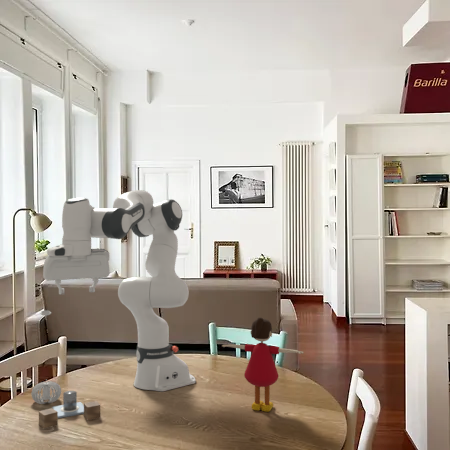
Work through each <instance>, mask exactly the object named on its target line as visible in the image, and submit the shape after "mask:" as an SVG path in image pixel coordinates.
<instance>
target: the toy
mask: <svg viewBox="0 0 450 450" xmlns="http://www.w3.org/2000/svg"><path fill="white" fill-rule="evenodd" d="M272 327H273V326H272V323H271V321H270V320H268V319H265V318H262V317H258V318H257V319H255V320H253V321H252V324H251V329H250V335H251V338H253V339H254V340H255V341H258V343H256V344H251V343H250V344H249V343H245V344H233V343H232V344H231V343H229V344H228V343H227V344H222V345H221V347H223V348H225V347H228V348H234V349H239V350H244V351H245V352H246V353H247V352H249V353H251V355H250V358H249V360H248V363H247V366H246V368H245V371H244V378H245V380H246V381H247V382H248V383H249V384H251V385H253V386H254V401H253V403H252V404H251V409H252V411H253V410H254V411H260V410H261V411H262V412H267V413H268V412H270V411H271V410H272V408H274V403H273V401H270V397H271V395H270V393H271V391H270V390H271V389H270V388H271V387H270V386H272V385H273V384H275V383H276V382H277V381H278V379H279V372H278V369H277V366H276V363H275V361H274V358H273V355H279V354H280V353H282V354H284V353H285V354H287V353H289V354H292V353H293V354H299V355H300V354H304V351H301V350H298V349H290V348H280V346H276V345H274V346H273V345H270V346H269V345H268V344H267V343H265V342H266V341H268V340H270V339H271V338H272V337H273V331H272V330H273V329H272ZM261 388H264V401H263V400H261Z"/></svg>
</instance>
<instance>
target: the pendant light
mask: <svg viewBox="0 0 450 450" xmlns="http://www.w3.org/2000/svg"><path fill="white" fill-rule="evenodd" d="M39 314H40V315H42V316H45V317H47V316H49V315H51V314H52V312H51V311H50V310H41V312H40V313H39ZM51 391H52V392H51ZM30 393H31V397H32V398H31V399H32V400H33V401H34V402H35V403H37V404H38V405H39V404H40V405H42V404H43V405H45V404H52V403H55V402H56V401H57V400H59V398H60V397H61V394H62V387H61V385H60V384H58V382H56V381H50V380H49V381H48V380H45V381H41V382H39V383H37V384H35V385H34V386H33V388H32V389H31V392H30ZM47 400H48V401H47Z"/></svg>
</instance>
